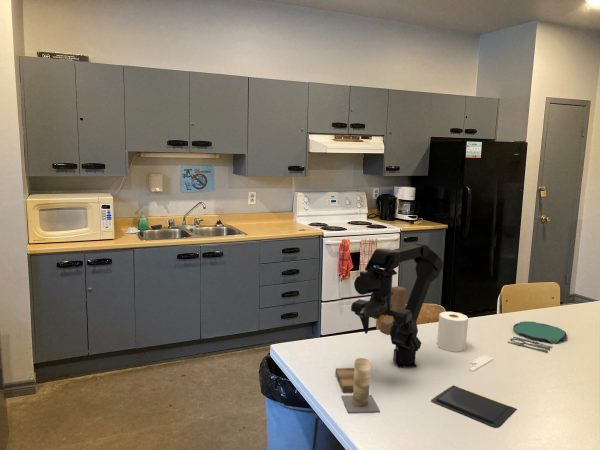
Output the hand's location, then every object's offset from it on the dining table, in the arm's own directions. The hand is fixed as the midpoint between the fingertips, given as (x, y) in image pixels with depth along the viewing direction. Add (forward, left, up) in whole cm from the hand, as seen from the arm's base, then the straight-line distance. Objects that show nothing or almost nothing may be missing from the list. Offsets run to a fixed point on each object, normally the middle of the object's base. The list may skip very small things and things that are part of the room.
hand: (379, 336), depth 155 cm
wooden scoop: (-17, -38, -13) cm, 44 cm away
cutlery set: (-75, -30, -14) cm, 82 cm away
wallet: (-23, +20, -14) cm, 34 cm away
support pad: (+10, +18, -13) cm, 24 cm away
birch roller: (+10, +18, -13) cm, 24 cm away
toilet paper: (-35, -22, -13) cm, 43 cm away
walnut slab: (+10, +5, -13) cm, 17 cm away
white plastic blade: (-38, -7, -14) cm, 41 cm away
